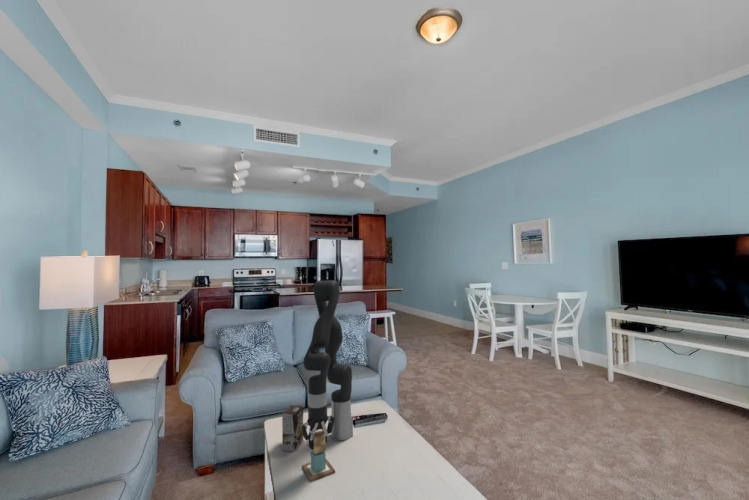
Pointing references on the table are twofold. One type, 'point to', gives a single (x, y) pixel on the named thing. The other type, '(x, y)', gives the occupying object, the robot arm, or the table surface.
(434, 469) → the table surface
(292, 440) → the coffee box
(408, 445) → the table surface
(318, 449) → the ochre block
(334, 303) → the robot arm
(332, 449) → the table surface
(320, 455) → the teal block
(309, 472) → the brown framed white board
